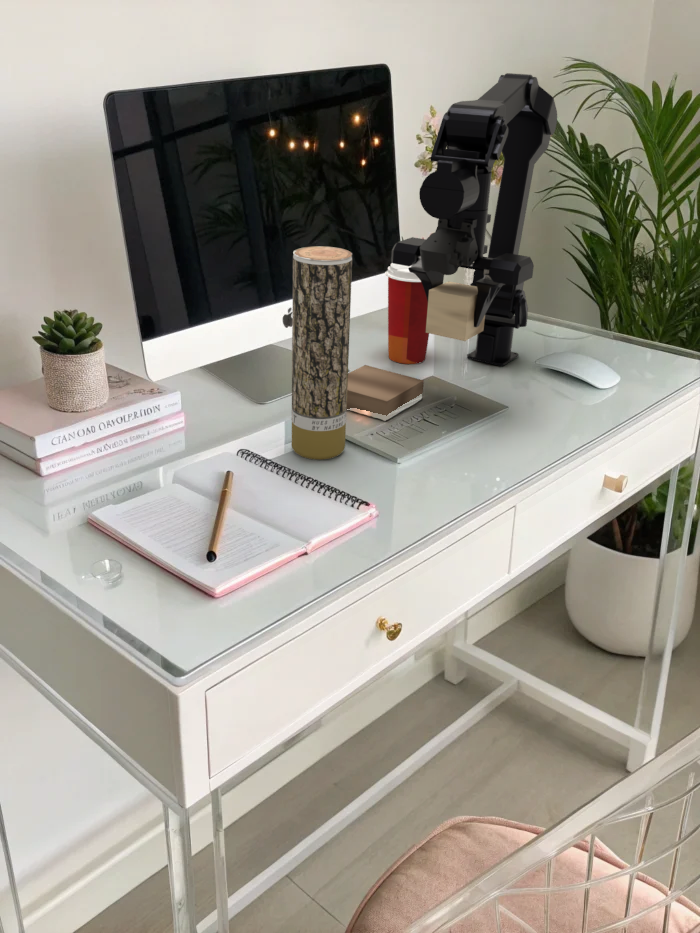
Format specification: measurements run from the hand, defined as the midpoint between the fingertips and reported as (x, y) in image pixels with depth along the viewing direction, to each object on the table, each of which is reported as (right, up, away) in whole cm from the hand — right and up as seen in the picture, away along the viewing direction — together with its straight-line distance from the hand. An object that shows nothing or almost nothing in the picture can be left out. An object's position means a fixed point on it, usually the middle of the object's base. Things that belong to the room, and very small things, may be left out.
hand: (455, 322), depth 127 cm
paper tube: (-19, -18, -11) cm, 28 cm away
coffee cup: (-6, -3, +21) cm, 22 cm away
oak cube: (0, -1, +1) cm, 1 cm away
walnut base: (-11, -11, +4) cm, 16 cm away
